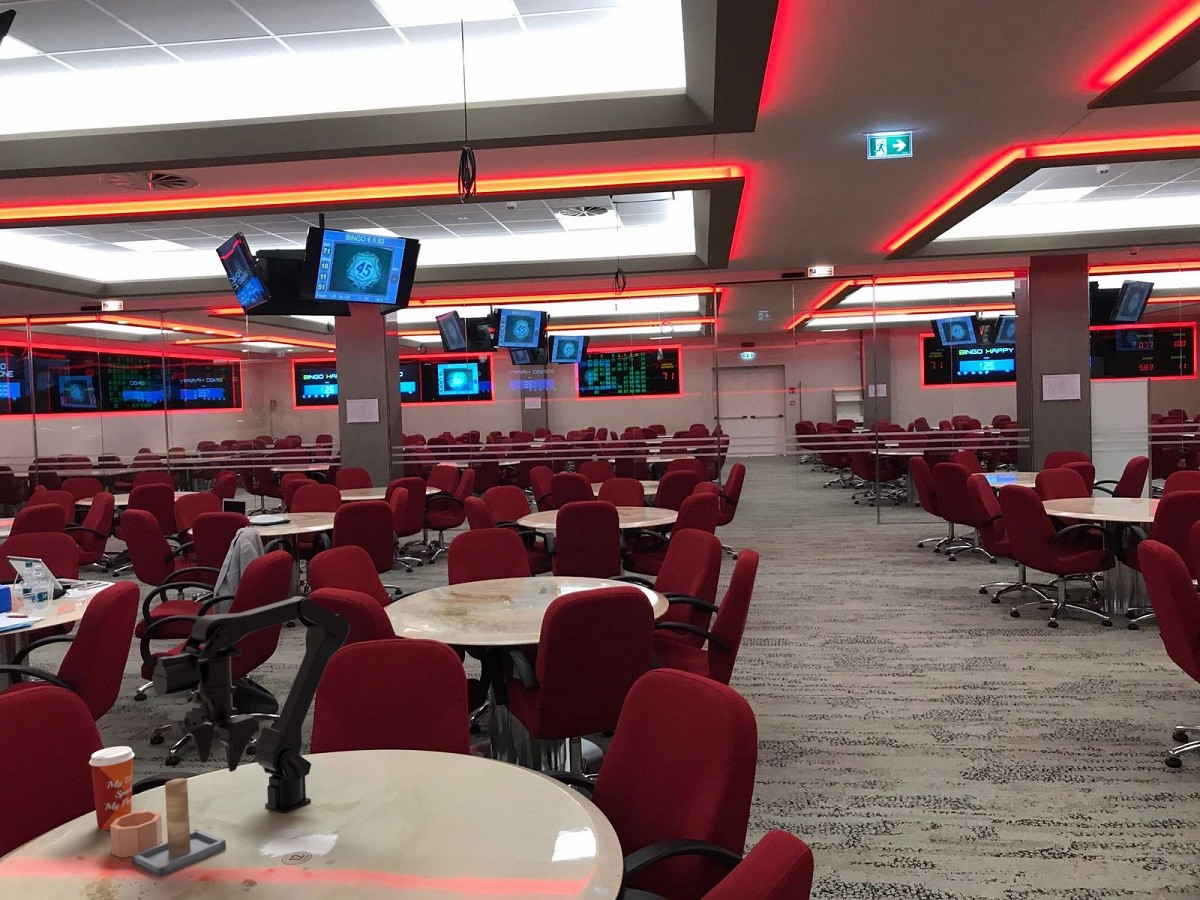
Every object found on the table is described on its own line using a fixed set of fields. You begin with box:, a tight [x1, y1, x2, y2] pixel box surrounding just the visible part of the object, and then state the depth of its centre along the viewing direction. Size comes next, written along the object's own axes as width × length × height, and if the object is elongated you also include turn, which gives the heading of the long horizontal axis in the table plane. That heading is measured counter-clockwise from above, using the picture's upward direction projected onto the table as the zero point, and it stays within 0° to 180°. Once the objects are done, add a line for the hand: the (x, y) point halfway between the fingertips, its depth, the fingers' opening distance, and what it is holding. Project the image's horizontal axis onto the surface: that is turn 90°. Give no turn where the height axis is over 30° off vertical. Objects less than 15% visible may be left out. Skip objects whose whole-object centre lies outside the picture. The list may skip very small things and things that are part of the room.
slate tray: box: [131, 829, 227, 878], centre depth 154 cm, size 12×9×2 cm
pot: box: [109, 809, 163, 858], centre depth 158 cm, size 8×8×5 cm
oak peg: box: [164, 778, 191, 858], centre depth 154 cm, size 4×4×12 cm
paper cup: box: [88, 745, 135, 831], centre depth 169 cm, size 8×8×14 cm
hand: (218, 766), depth 164 cm, fingers open, 9 cm apart
